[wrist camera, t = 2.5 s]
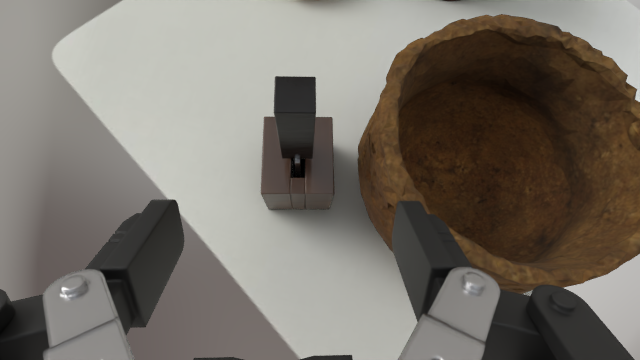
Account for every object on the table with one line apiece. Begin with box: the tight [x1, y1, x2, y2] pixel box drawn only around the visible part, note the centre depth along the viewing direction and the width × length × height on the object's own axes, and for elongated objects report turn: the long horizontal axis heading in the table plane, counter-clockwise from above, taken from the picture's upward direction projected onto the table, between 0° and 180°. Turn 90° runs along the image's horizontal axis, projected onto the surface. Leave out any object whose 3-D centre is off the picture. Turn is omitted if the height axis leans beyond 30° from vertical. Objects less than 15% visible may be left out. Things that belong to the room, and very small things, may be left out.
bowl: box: [358, 14, 640, 294], centre depth 28 cm, size 19×19×15 cm
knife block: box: [261, 117, 334, 209], centre depth 32 cm, size 6×7×6 cm
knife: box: [274, 76, 316, 178], centre depth 27 cm, size 2×3×16 cm
